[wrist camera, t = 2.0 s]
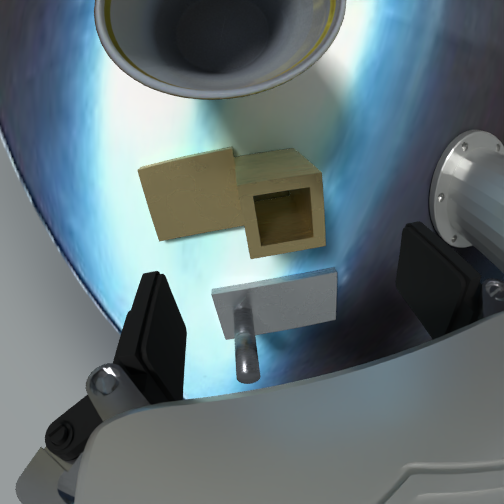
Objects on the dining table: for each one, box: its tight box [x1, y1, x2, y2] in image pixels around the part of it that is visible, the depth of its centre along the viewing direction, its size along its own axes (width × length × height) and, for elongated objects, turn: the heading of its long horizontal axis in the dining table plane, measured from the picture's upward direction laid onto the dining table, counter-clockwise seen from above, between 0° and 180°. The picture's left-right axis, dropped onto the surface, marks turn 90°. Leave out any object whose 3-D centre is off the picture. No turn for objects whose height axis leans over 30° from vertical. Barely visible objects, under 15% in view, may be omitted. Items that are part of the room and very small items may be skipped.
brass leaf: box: [138, 147, 326, 259], centre depth 19 cm, size 11×6×7 cm, turn 99°
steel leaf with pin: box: [211, 267, 337, 384], centre depth 24 cm, size 11×6×8 cm, turn 99°
